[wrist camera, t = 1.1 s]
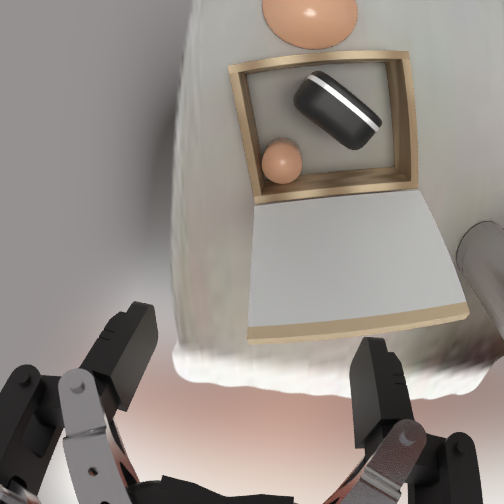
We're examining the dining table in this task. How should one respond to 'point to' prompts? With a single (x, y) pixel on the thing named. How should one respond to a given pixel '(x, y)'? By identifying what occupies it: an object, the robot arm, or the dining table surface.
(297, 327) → the lid
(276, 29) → the saucer
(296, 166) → the peach rounded capsule
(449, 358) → the dining table surface
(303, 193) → the wooden box
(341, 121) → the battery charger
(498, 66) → the dining table surface
